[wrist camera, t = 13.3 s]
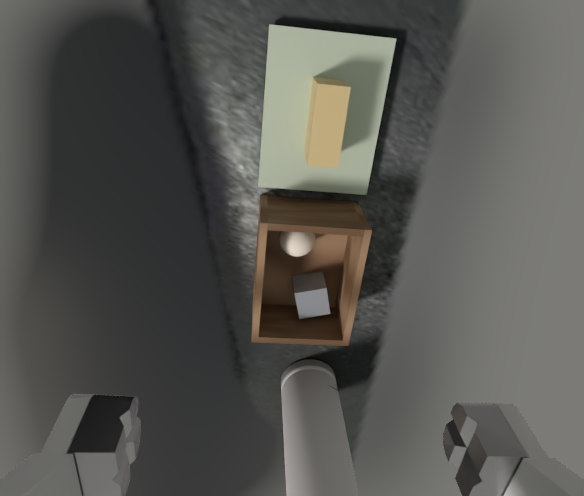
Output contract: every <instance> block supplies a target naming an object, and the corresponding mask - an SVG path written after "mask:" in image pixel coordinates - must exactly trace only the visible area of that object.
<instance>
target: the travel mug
mask: <svg viewBox="0 0 584 496" xmlns="http://www.w3.org/2000/svg"><path fill="white" fill-rule="evenodd" d="M281 391H282V413H283V433H284V453H285V473H286V493H287V496H359V494H358V489H357V484H356V479H355V474H354V469H353V464H352V459H351V454H350V449H349V444H348V439H347V434H346V429H345V424H344V419H343V414H342V409H341V404H340V399H339V394H338V389H337V384H336V379H335V374H334V372H333V370H332V368H331V367H330V366H329V365H327V364H326V363H324V362H322V361H319V360H314V359H306V360H301V361H298V362H295V363H293V364H292V365H290V366H289V367H288V368H287V369H286V370H285V371H284V373H283V374H282V377H281Z"/></svg>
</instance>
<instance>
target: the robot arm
mask: <svg viewBox="0 0 584 496" xmlns="http://www.w3.org/2000/svg"><path fill="white" fill-rule="evenodd" d="M137 410H138V399H137V397H135V396H114V395H86V394H72V396H70V397H69V398H68V399H67V401H66V403H65V405H64V408H63V409H62V411H61V413H60V415H59V418H58V419H57V421H56V423H55V425H54V428H53V429H52V432H51V433H50V435H49V438H48V440H47V441H46V444H45V445H44V447H43V449H42V451H41V453H34V454H32V455H31V456H30V457H29V458H27V459H26V460H25V461H23V462H22V463H21V464H19V465H18V466H17V467H15V468H14V469H13V470H12V471H10V472H9V473H8V474H6V475H5V476H4V477H2V478H1V479H0V496H125V494H126V491H127V487H128V484H129V480H130V469H129V465H130V464H131V463H132V462H133V461H134V460H135V459H136V455H137V451H138V447H139V440H140V428H141V426H140V419H139V418H138V417H137V416H136V414H137ZM450 413H451V415H452V418H453V420H451V421H450V422H449V423H447V424H446V426H445V429H444V432H443V446H444V451H445V455H446V457H447V460H448V462H449V463H450V464H451V465H452V466H453V467H455V468H456V469H457V474H456V477H455V479H456V482H457V484H458V487H459V489H460V492H461V494H462V496H584V479H582V478H581V477H579V476H578V475H577V474H575V473H574V472H573V471H571V470H570V469H568V468H567V467H566V466H565V465H563V464H562V463H561V462H559V461H558V460H556V459H555V458H549V457H548V456H547V454H546V452H545V451H544V449H543V448H542V446H541V445H540V443H539V441H538V440H537V438H536V437H535V435H534V434H533V432H532V430H531V429H530V427H529V426H528V424H527V423H526V421H525V420H524V418H523V416H522V415H521V413H520V412H519V410H518V408H517V407H516V406H514V405H513V404H497V403H496V404H495V403H494V404H491V403H456V404H455V405H454V406H453V408H452V410H451V412H450Z"/></svg>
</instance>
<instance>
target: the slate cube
mask: <svg viewBox="0 0 584 496" xmlns="http://www.w3.org/2000/svg"><path fill="white" fill-rule="evenodd" d="M292 277H293V285H294V294H295V299H296V304H297V310H298V315H299V319H303V318H309V317H315V316H321V315H327V314H330V308H329V301H328V294H327V288H326V283H325V279H324V275H323V271H320V272H314V273H308V274H302V275H297V276H292Z"/></svg>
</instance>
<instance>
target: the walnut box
mask: <svg viewBox="0 0 584 496" xmlns="http://www.w3.org/2000/svg"><path fill="white" fill-rule="evenodd" d="M281 231H287V232H302V233H314V234H315V243H314V246H313V248H312V250H311V251H310V252H309V253H307V254H306V255H303V256H299V257H295V256H291V255H289V254H287V253H286V252H285V251H284V250H283V249H282V247H281V245H280V240H279V238H280V233H281ZM371 234H372V229H371V227H370V225H369V223H368V221H367V219H366V217H365V215H364V213H363V211H362V209H361V207H360V205H359V203H358V202H353V201H340V200H326V199H312V198H298V197H285V196H271V195H260V209H259V223H258V237H257V251H256V265H255V279H254V293H253V310H252V340H251V342H262V343H288V344H313V345H338V346H348V345H349V340H350V335H351V330H352V325H353V321H354V316H355V311H356V306H357V301H358V297H359V292H360V287H361V282H362V277H363V272H364V268H365V263H366V258H367V253H368V248H369V243H370V239H371ZM320 271H323V275H324V279H325V283H326V288H327V294H328V301H329V308H330V314H327V315H321V316H315V317H309V318H303V319H299V315H298V310H297V304H296V299H295V294H294V285H293V277H292V276H297V275H302V274H308V273H314V272H320Z"/></svg>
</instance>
